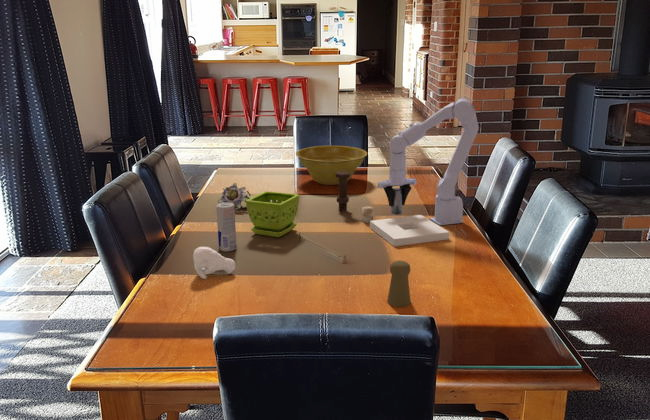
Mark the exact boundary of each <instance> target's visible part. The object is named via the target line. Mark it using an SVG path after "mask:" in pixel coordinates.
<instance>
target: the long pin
mask: <svg viewBox="0 0 650 420" xmlns="http://www.w3.org/2000/svg"><path fill="white" fill-rule="evenodd" d="M392 188H393V189H394V190H395V192H394V198H393V207H391V206H390V207H391V208H390V214H392V215H395V216H396V215H402V214H403V205H402V196H403V189H401V188H400V187H392Z"/></svg>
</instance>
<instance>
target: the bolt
mask: <svg viewBox="0 0 650 420" xmlns="http://www.w3.org/2000/svg"><path fill="white" fill-rule="evenodd" d="M349 177H350V173H349V172H346V171H339V172H336V178H338V181H339V184H338V196H337V197H336V202H337V204H338V211H339V212H346V211H347V210H348V205H347V204H348V203H349V201H350V197H349V196H348V181H347V178H349Z"/></svg>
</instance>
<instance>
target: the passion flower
mask: <svg viewBox="0 0 650 420" xmlns="http://www.w3.org/2000/svg"><path fill="white" fill-rule="evenodd" d="M246 188H247V187H246V186H243V187H238V185H237V183H236V182H233V184H232V185H230V186H225V188H222V189H223V192H222V193H221V194H222V195H221V198H220V199H218V200H217V203H218V204H219V203H226V202H228V203H233V204H234V208H235V207H236V208H238V209H241V207H242V202H244V203H246V201H247V200H248V199H250V198H251V197H250V196H251V195H252V194H251V193H250V192H249V190H246ZM245 190H246V191H245Z"/></svg>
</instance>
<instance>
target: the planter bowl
mask: <svg viewBox="0 0 650 420" xmlns="http://www.w3.org/2000/svg"><path fill="white" fill-rule="evenodd" d="M295 155H296V156H297V157H298V160H299V162H300V164H301V165H302V166H303V167H304V168H306V170H307V172H308V173H309V175H310V176H311V179H312V180H313V181H315V182H316V183H318V184H321V185H329V186H330V185H331V186H334V185H335V186H336V185H339V181H338V178H336V172H339V171H346V172H349V173H350V177H349V178H347V182H348V181H349V180H351V178H352V177H353V175H354V174H355V172H356V169H358V167H360V166H362V163H363V162H364V159H365V157H367V156H368V152H367V151H366V150H365V149H362V148H360V147H359V148H358V147H354V146H345V145H316V146H310V147H308V146H307V147H305V148H301V149H299V150H297V151H296V152H295Z"/></svg>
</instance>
